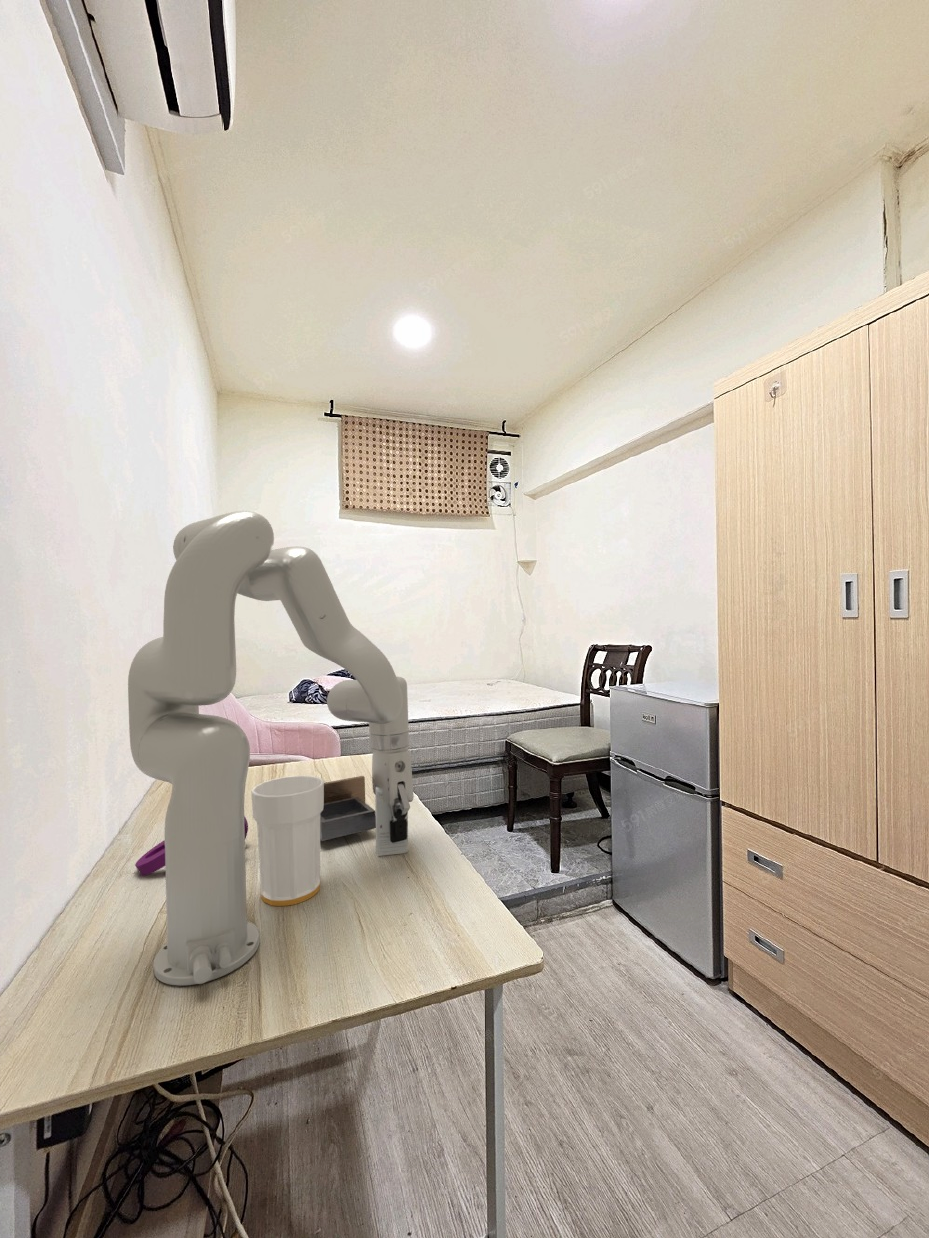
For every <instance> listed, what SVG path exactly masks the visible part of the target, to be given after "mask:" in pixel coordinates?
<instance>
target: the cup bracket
mask: <svg viewBox="0 0 929 1238" xmlns="http://www.w3.org/2000/svg"><path fill="white" fill-rule="evenodd" d="M365 780H366V779H365V776H364V775H359V776H354V777H349V778H343V779H338V780H333V781H331V780H330V781H327V782H324V807H323V811H322V812H321V813H320V841H322V842H323V841H324V842H325V841H327V840H333V839H336V838H340V837H344V836H349V835H352V834H353V835H354V834H357V833H360V832H365V831H370V830H374V829H376V811H375V809H374V808H373V807H371V806H370V805H369V804H368V803H367V802H366V781H365Z"/></svg>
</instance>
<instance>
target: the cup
mask: <svg viewBox="0 0 929 1238" xmlns="http://www.w3.org/2000/svg"><path fill="white" fill-rule="evenodd" d="M324 783H325V781H324V779H322V778H320V777H319V776H313V775H290V776H283V777H279V778H278V777H277V778H271V779H269V780H266V781H263V782H261V783H259V784H257V785H255V786H253V788H252V790H251V807H252V818H253V820H255V822H256V826H257V841H258V844H257V845H258V860H259V861H258V863H259V873H260V874H259V878H260V879H259V881H260V894H261V900H262V902H264V903H265V904H267V905H269V906H273V907H274V906H275V907H285V906H294V905H297V904H300V903H302V902H306V901H307V900H309V899H310V898H312V897H314V896H315V895H317V893H318V892H319V891H320V889H321V839H320V813H321V812H322V811H323V807H324Z"/></svg>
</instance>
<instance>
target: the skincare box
mask: <svg viewBox="0 0 929 1238" xmlns="http://www.w3.org/2000/svg"><path fill="white" fill-rule="evenodd" d="M375 793H376V795H375V797H374V799H375V800H374V802H375V804H374V805H375V807H374V808H375V809H374V810H375V816H376V828H375V850H376V854H377V855H376V856H377V857H380V856H381V857H382V856H390V855H397V854H399V855H400V854H406V853H408V852H409V815H408V814H409V813H407V839H406V840H402V841H399V842H395V843H392V842H391V841H390V821H391V820H392V819H391V812H390V805H389V804H387V803H385V802H384V799H383V794H382V791H381V790H380V789H378V788H377V787H375ZM394 802H395V803H398V802H400V801H399V799H397V800H394ZM399 808H400V806H396V807H395V812H396V811H397V809H399Z"/></svg>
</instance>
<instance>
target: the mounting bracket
mask: <svg viewBox="0 0 929 1238" xmlns="http://www.w3.org/2000/svg"><path fill="white" fill-rule="evenodd" d="M244 827H245V840H246V839H247V835H248V831H249V823H248V820H247V817H246V816H245V815H244ZM134 865H135V867H136V869H137V871H138V872H139V874H140V875H141V876H142V877H144V876H148V875H150V874H153V873H154V872H157V871H159V870H161V869H162V868H164V867H165V839H164V840H162V841H160V843H158V844H156V845H155V846H153V847H152V848H151V849H149V850H147V852H146V853H144V854H143V855H142V856H141V857H140V858H139V859H137V861H136V862H135V864H134Z"/></svg>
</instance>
